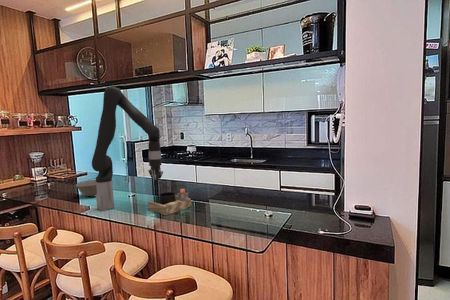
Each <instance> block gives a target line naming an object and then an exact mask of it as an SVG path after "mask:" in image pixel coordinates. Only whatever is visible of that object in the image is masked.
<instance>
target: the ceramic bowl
mask: <svg viewBox="0 0 450 300" xmlns="http://www.w3.org/2000/svg"><path fill="white" fill-rule="evenodd" d="M75 186H76V187H75V188H77V189H78V191H79V192H80V193H81V194H82V195H83V196H85V197H87V196H94V195H96V194H97V187H96V179H89V180H85V181H84V180H83V181H80V182H77V183H76V184H75Z"/></svg>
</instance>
